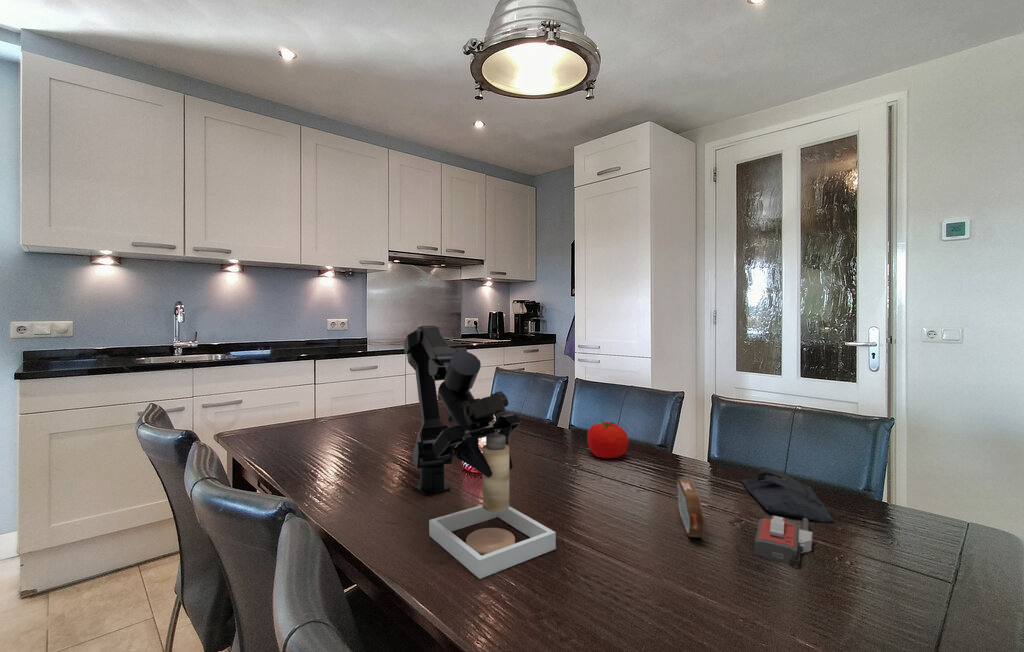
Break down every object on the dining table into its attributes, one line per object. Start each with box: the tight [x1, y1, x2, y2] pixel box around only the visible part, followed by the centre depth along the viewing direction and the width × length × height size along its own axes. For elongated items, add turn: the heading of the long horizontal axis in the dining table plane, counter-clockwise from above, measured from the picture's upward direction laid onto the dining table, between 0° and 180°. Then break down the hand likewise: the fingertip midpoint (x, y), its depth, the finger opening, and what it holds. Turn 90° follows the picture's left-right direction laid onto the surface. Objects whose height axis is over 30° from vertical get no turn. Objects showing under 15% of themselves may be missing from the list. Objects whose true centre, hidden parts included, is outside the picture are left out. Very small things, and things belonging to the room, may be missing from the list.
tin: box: [676, 477, 705, 539], centre depth 92 cm, size 15×3×8 cm, turn 168°
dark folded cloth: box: [741, 466, 836, 524], centre depth 105 cm, size 15×22×5 cm
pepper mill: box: [481, 434, 510, 512], centre depth 86 cm, size 5×5×13 cm
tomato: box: [586, 419, 630, 459], centre depth 137 cm, size 11×13×10 cm
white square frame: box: [428, 504, 557, 580], centre depth 86 cm, size 18×16×3 cm
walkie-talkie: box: [754, 515, 814, 566], centre depth 86 cm, size 9×4×20 cm
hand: (501, 472), depth 85 cm, fingers closed on pepper mill, 5 cm apart
